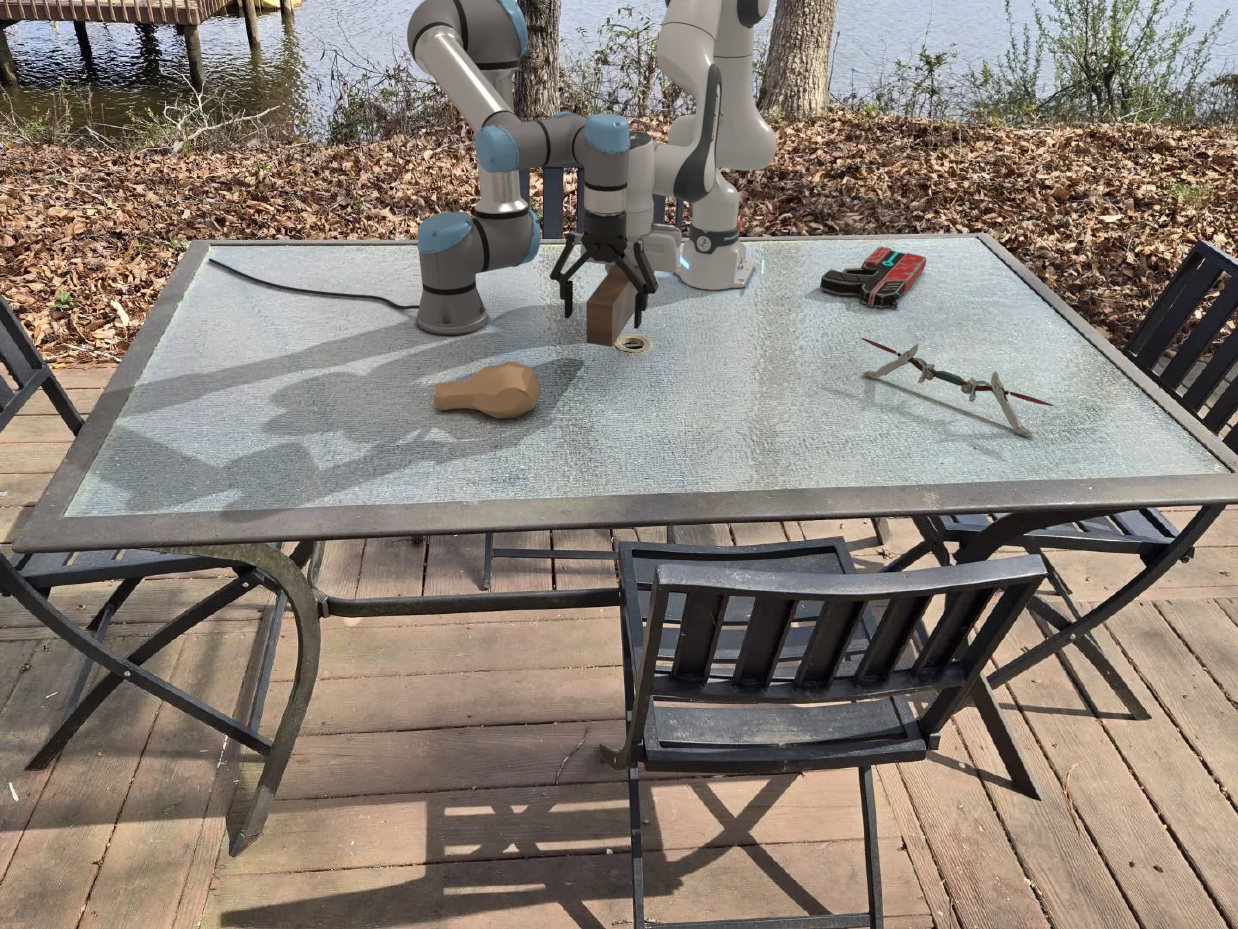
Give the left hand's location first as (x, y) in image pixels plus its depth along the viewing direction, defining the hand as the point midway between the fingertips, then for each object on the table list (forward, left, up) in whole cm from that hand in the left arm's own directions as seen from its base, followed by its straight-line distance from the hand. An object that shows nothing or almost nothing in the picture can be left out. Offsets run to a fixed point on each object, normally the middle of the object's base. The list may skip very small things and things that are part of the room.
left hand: (602, 320), depth 166 cm
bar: (-4, +8, -3) cm, 10 cm away
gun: (+7, +89, -14) cm, 90 cm away
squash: (-7, -22, -14) cm, 27 cm away
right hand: (-9, +16, 0) cm, 18 cm away
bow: (+50, +45, -14) cm, 68 cm away
